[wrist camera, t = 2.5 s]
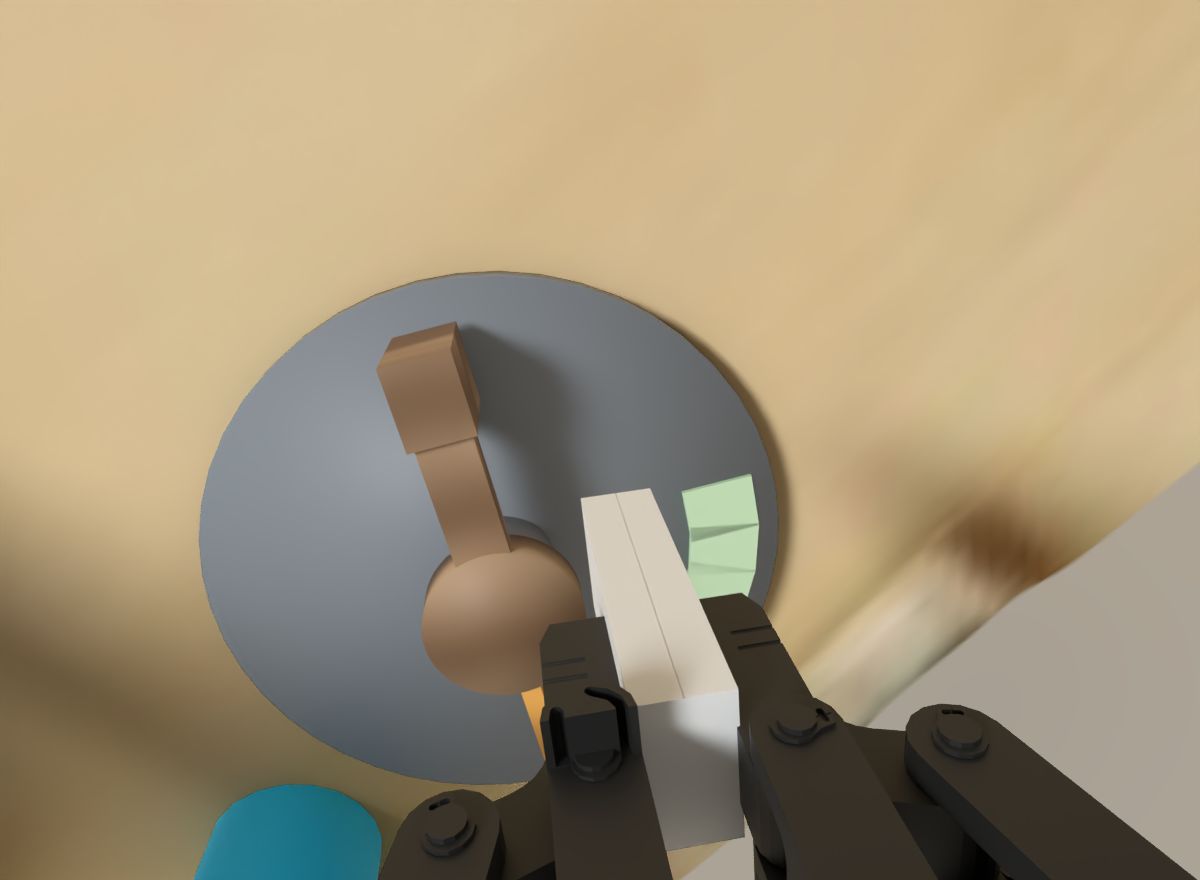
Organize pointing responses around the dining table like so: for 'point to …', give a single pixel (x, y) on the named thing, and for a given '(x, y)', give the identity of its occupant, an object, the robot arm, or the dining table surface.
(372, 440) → the dial plate
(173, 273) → the dining table surface
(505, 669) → the dial arm
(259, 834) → the mug
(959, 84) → the dining table surface
